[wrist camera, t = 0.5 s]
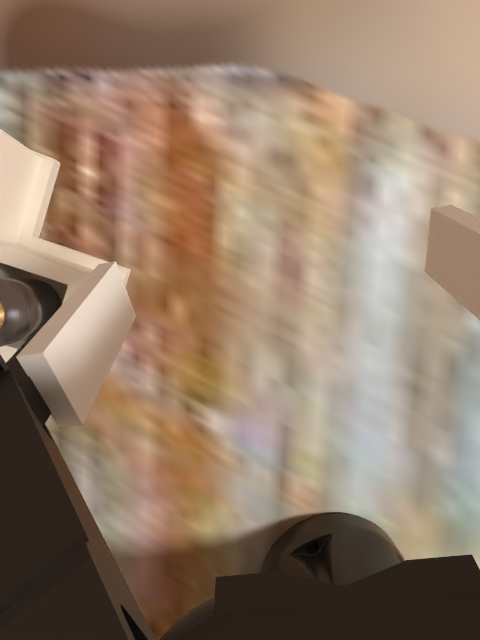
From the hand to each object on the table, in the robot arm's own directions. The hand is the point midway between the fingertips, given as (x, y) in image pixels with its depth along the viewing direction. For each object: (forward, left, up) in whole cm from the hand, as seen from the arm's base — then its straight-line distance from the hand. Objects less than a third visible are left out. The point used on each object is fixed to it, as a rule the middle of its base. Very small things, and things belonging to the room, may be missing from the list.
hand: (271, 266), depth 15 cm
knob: (-8, +15, -13) cm, 21 cm away
